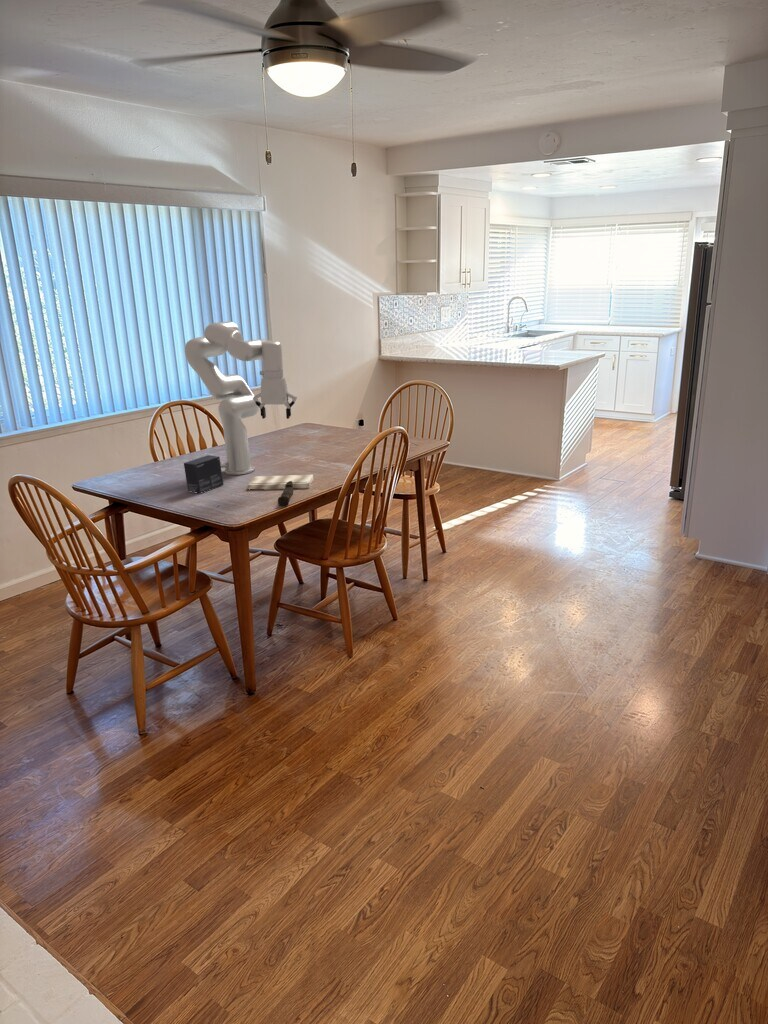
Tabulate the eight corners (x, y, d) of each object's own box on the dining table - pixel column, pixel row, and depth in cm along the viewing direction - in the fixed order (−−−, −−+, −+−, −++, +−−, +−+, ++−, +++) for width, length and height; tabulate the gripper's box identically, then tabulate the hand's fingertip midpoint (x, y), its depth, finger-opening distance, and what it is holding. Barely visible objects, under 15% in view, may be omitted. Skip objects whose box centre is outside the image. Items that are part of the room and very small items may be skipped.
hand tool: (289, 506, 255) (288, 494, 253) (278, 506, 255) (277, 494, 254) (299, 491, 273) (298, 479, 271) (288, 491, 273) (287, 479, 272)
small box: (212, 483, 288) (208, 454, 284) (224, 485, 284) (220, 456, 280) (187, 492, 278) (183, 462, 274) (199, 494, 274) (195, 464, 270)
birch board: (248, 489, 276) (247, 484, 275) (254, 481, 288) (254, 476, 287) (309, 488, 275) (308, 482, 274) (313, 479, 286) (313, 474, 286)
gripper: (248, 376, 270) (252, 420, 276) (293, 376, 269) (296, 420, 275) (253, 372, 277) (256, 415, 283) (297, 372, 276) (299, 416, 282)
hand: (276, 418), depth 279 cm, fingers open, 9 cm apart
